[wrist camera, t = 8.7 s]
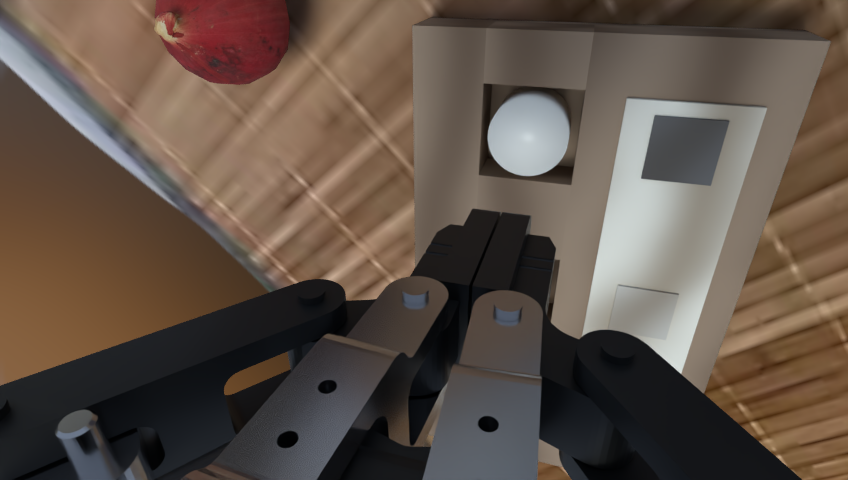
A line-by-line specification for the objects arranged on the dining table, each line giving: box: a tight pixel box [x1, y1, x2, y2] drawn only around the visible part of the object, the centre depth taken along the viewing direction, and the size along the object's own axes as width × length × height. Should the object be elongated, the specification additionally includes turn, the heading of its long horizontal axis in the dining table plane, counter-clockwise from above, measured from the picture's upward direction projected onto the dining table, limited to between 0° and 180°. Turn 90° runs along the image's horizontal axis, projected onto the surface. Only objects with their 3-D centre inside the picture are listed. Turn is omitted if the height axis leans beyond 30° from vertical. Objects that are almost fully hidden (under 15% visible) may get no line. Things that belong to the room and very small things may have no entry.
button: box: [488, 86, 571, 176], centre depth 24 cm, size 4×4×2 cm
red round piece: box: [154, 0, 290, 85], centre depth 24 cm, size 6×6×8 cm
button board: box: [412, 18, 831, 467], centre depth 28 cm, size 16×26×3 cm, turn 3°
